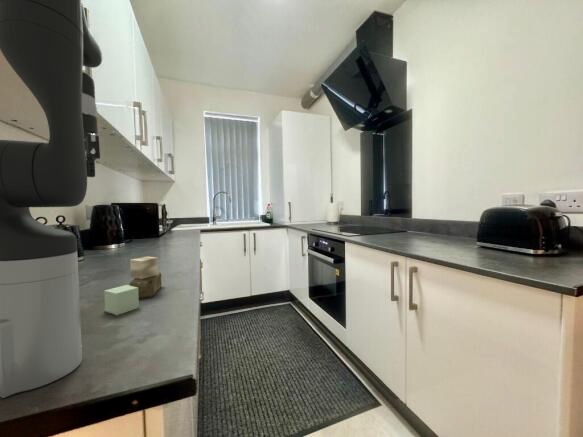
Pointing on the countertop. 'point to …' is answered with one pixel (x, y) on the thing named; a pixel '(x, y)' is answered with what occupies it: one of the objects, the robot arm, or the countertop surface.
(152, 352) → the countertop surface
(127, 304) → the sage cube
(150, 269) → the birch cube
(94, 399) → the countertop surface
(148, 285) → the stone block
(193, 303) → the countertop surface
